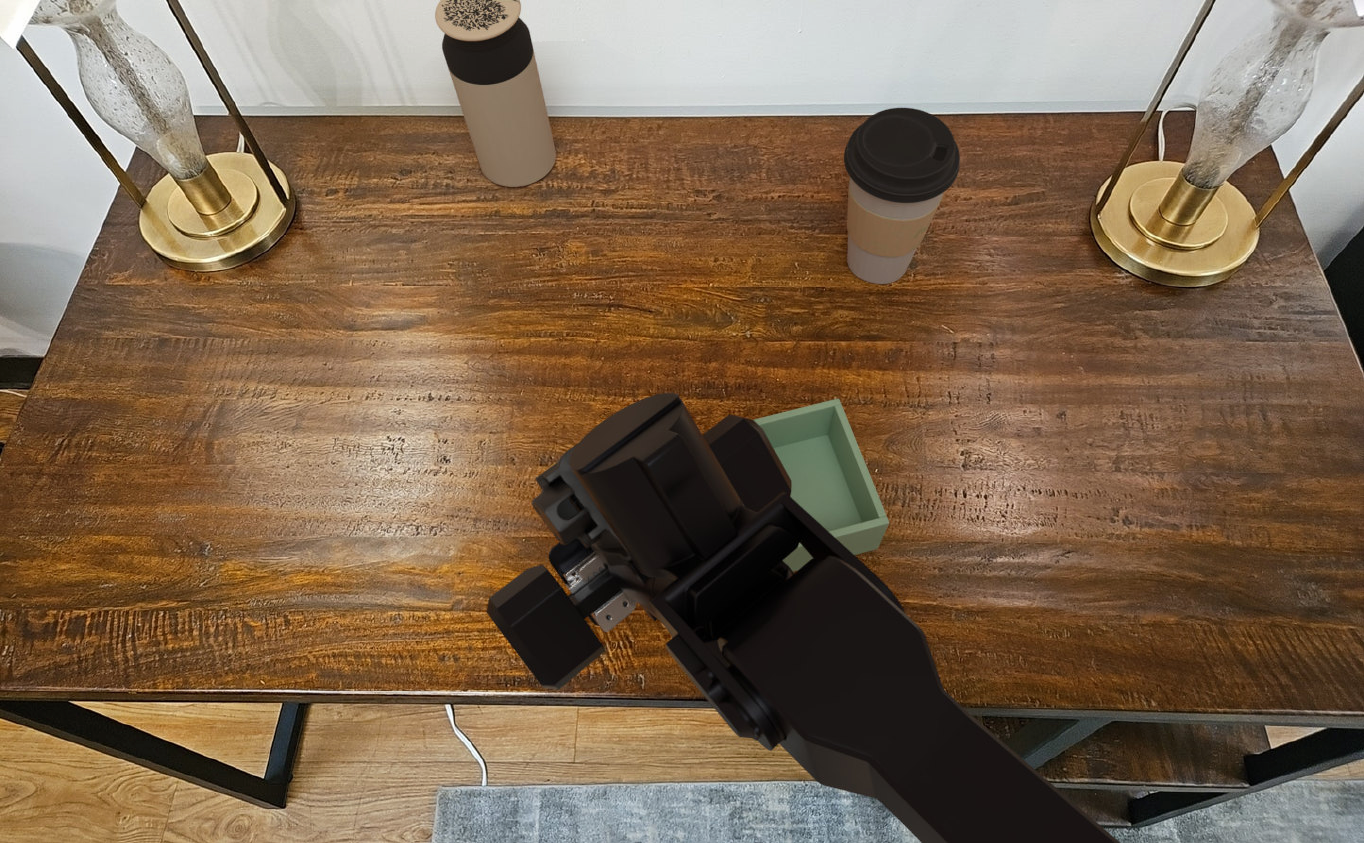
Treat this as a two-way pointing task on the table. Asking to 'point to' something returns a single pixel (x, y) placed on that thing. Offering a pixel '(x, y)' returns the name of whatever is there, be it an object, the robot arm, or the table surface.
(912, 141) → the coffee cup
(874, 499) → the green open square box
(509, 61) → the travel mug
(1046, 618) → the table surface
